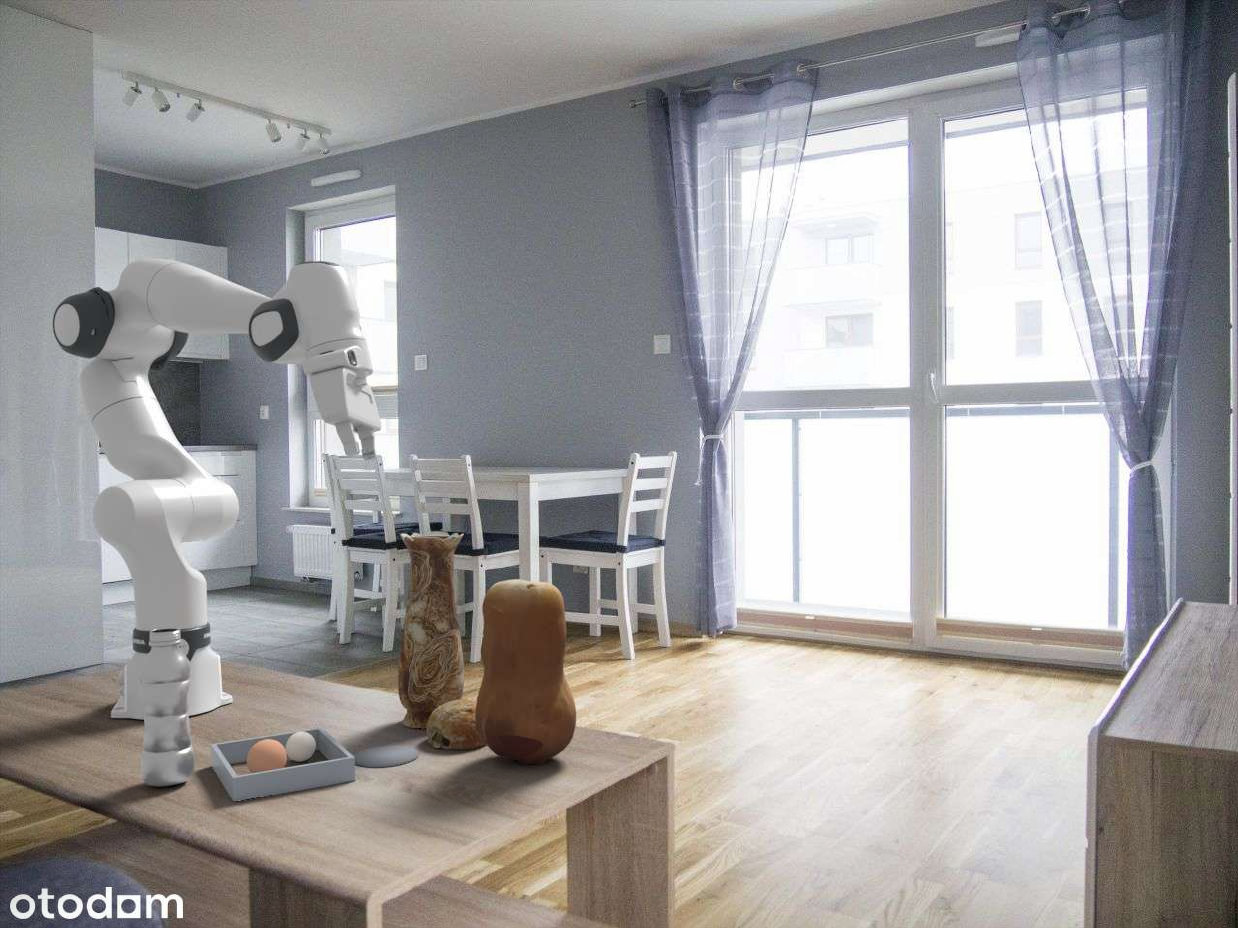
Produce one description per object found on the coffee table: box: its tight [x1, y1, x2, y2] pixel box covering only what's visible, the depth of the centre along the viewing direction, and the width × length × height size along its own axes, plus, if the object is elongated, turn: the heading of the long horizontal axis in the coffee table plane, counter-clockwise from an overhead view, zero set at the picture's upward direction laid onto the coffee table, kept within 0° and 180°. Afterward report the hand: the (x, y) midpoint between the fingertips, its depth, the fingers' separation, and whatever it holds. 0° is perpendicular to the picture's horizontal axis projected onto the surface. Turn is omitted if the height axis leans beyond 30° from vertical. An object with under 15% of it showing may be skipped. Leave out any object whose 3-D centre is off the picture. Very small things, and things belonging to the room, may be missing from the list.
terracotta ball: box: [246, 739, 288, 774], centre depth 131 cm, size 5×5×5 cm
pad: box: [353, 745, 420, 768], centre depth 139 cm, size 9×9×1 cm
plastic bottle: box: [138, 628, 196, 787], centre depth 129 cm, size 6×7×20 cm
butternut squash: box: [475, 578, 577, 766], centre depth 137 cm, size 14×13×25 cm
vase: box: [397, 530, 465, 730], centre depth 157 cm, size 10×11×30 cm
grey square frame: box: [210, 727, 356, 802], centre depth 132 cm, size 17×15×3 cm
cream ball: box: [286, 732, 316, 763], centre depth 138 cm, size 4×4×4 cm
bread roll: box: [425, 698, 487, 750], centre depth 146 cm, size 10×10×8 cm
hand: (362, 457), depth 145 cm, fingers open, 8 cm apart
